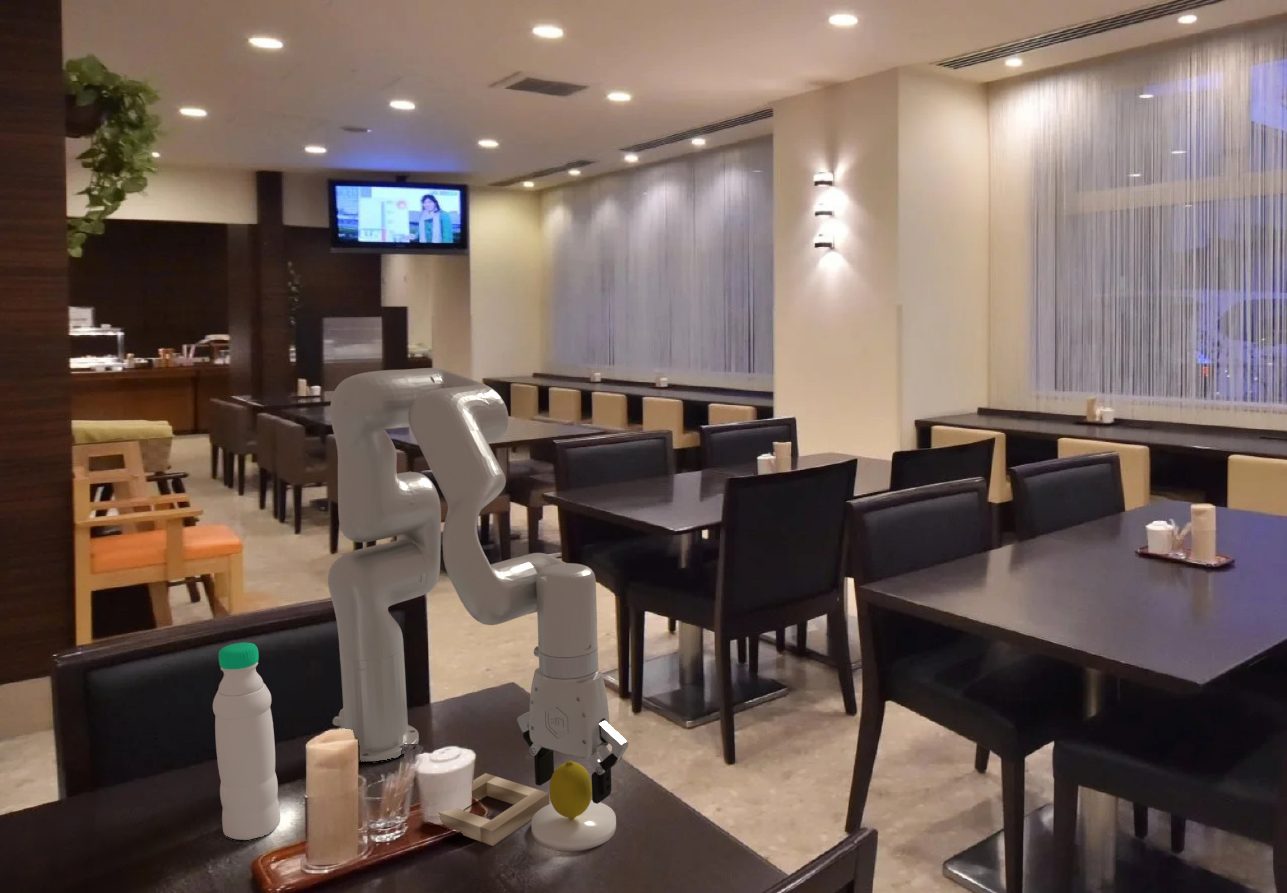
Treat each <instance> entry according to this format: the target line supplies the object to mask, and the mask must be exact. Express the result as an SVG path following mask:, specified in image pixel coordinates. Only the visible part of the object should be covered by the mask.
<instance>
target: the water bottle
mask: <svg viewBox="0 0 1287 893" xmlns="http://www.w3.org/2000/svg"><path fill="white" fill-rule="evenodd" d="M259 655H260V654H259V649H258V646H257V645H256V644H254V643H252V642H251V643H250V642H237V643H232V644H228V645H225V646H223V647H222V648H221V649H220V650H219V652H218V663H219V667H220V671H222V672H223V677H222V679H221V681H220V682H219V684H218V690H217V692H216V693H215V696H214V698H213V702H212V710H213V714H214V715H215V716H214V717H215V721H214V722H215V723H214V729H215V731H214V732H215V750H216V757H217V767H218V775H219V779H220V784H219V786H220V787H219V796H220V798H219V799H220V802H221V806H222V813H221V815H222V816H221V821H222V822H221V823H222V832H223V834H224V835H225V837H227V836H228V837H230V838H233V839H252V838H257V837H261V836H263V835H266V836H268V835H269V834H271V833H272V832H274V831H275V830H276V829H277V828H278V827H279V825H280V823H281V809H280V808H281V807H280V803H279V799H278V789H279V786H278V785H279V784H278V783H279V782H278V778H277V774H276V747H275V746H276V745H275V744H276V743H275V733H274V732H275V731H274V722H273V721H274V720H273V715H272V709H271V704H272V694H271V692H270V690H269V688H268V687H267V685H266V683H264V680H263V678H262V676H261V675H260V674H259V673H258V672H257V669H256V668H257V666H258V664H259V660H260V659H259V658H260V656H259ZM270 832H271V833H270ZM228 837H227V838H228ZM263 837H264V836H263ZM230 838H229V839H230ZM261 838H262V837H261Z"/></svg>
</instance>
